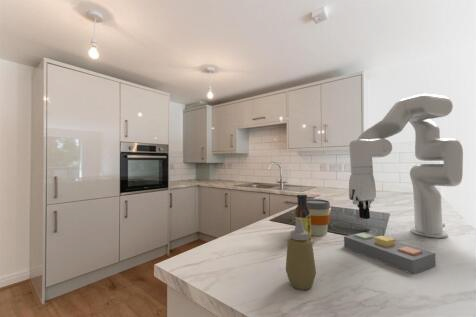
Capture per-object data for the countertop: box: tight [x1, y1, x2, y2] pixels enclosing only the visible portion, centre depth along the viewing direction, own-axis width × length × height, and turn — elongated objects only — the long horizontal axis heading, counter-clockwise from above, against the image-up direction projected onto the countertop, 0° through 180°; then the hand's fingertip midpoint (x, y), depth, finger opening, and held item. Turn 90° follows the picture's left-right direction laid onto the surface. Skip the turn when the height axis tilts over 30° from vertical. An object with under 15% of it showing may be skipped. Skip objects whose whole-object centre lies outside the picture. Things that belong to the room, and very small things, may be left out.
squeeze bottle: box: [285, 218, 317, 291], centre depth 61 cm, size 8×8×18 cm
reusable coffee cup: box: [307, 198, 331, 237], centre depth 104 cm, size 13×13×15 cm
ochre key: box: [374, 235, 396, 247], centre depth 78 cm, size 4×4×2 cm
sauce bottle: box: [294, 193, 312, 241], centre depth 94 cm, size 7×6×20 cm
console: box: [343, 231, 437, 275], centre depth 78 cm, size 12×24×4 cm, turn 24°
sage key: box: [355, 232, 373, 240], centre depth 85 cm, size 4×4×2 cm
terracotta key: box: [398, 246, 422, 256], centre depth 71 cm, size 4×4×2 cm
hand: (364, 218), depth 86 cm, fingers closed
